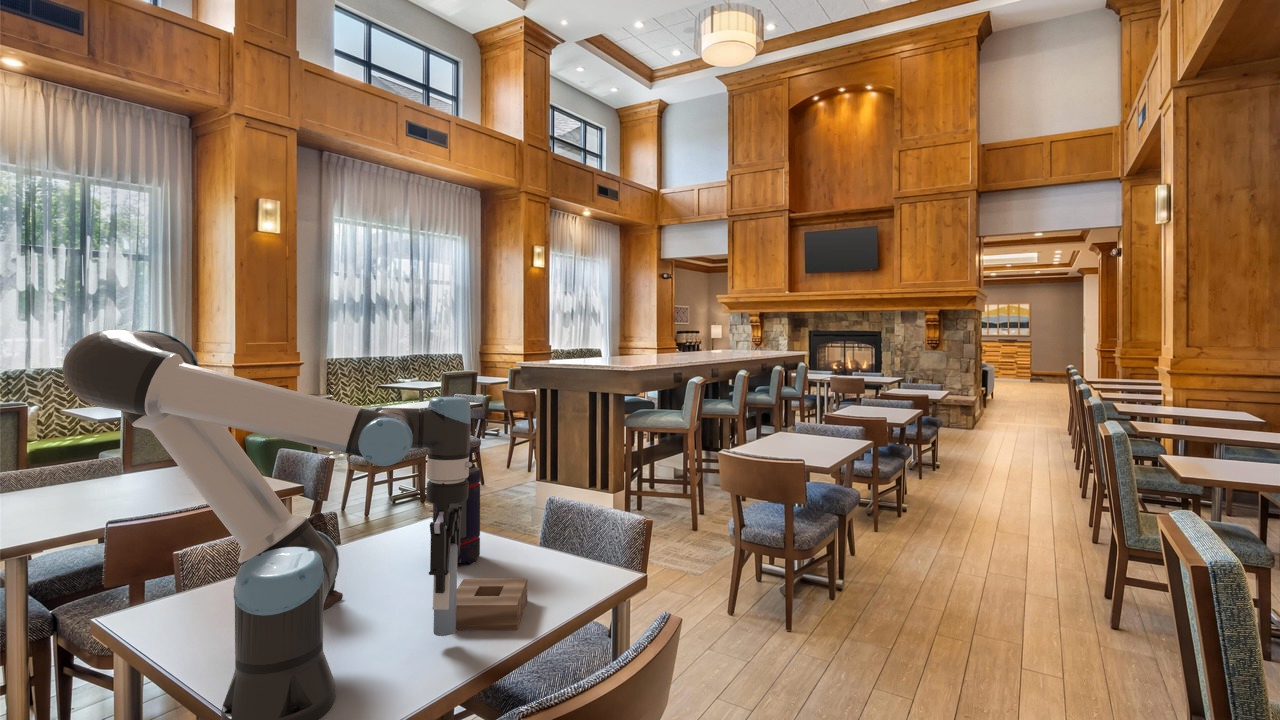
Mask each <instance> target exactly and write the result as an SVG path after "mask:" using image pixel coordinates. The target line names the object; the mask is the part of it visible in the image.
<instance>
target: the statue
mask: <svg viewBox="0 0 1280 720" xmlns="http://www.w3.org/2000/svg"><path fill="white" fill-rule="evenodd" d="M306 519H307V520H308V521H309V523H310V524H311V525H312V527H313V528H314V529H315V530H316V531H319V532H322V533H324V534H325V535H327V536H328V537H329V538H330V532H329V528H328V522H327V520H326V518H325V515H324V513H322V512H314V513H313V514H311V516H309V517H308V518H306ZM335 585H336V579H335V581H334V583H333V584H332V586H331V588H330V590H329V592H328V595H327V597H326V599H325V602H324V605H323V611H324V610H325V609H328V608H330V607H331V606H333V605H334V604H336V603H338V602H339V601H341V600H342V599H343V596H344V595H343V593H342V592H339V591H338V590H336V589H335Z"/></svg>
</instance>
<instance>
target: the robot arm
mask: <svg viewBox="0 0 1280 720" xmlns="http://www.w3.org/2000/svg"><path fill="white" fill-rule="evenodd" d="M61 370H62V376H63V380H64V382H65V384H66V386H67V387H68V389H69V390H70V391H71V392H72V393H73V395H74V396H75V397H77V398H79V399H80V400H82V401H84V402H85V403H87V404H89V405H92V406H95V407H99V408H104V409H108V410H115V411H120V412H121V413H122V415H123V416H124V417H125V418H126V419H127V421H128V423H130V424H131V425H132V426H133V427H135V428H141V429H146V430H149V431H151V432H152V434H153V435H154V436H155V438H156V439H157V440H158V441H159V442H160V445H162V447H163V448H164V450H166V452H167V453H168V454H169V455H170V457H171V459H173V461H174V462H175V464H176V465H177V466H178V467H179V469H180V470H181V471H182V472H183V474H184V476H186V478H187V479H188V480H189V481H190V483H191V484H192V486H193V487H194V488H195V489H196V491H197V492H198V493H199V494H200V496H201V497H202V498H203V500H204V501H205V502H206V503H207V505H208V506H209V507H210V508H211V510H212V512H213V513H214V514H215V515H216V516H217V518H218V519H219V520H220V522H221V523H222V524H223V525H224V527H225V528H226V529H227V531H228V532H229V533H230V534H231V536H232V537H233V538H234V539H235V541H236V542H237V544H238V545H239V546H240V553H239V556H238V560H237V561H238V563H239V564H240V565H241V566H240V568H239V569H237V572H236V576H235V583H234V586H233V599H234V649H235V650H234V657H235V660H234V661H235V662H234V663H235V664H234V665H235V666H234V667H235V668H234V673H233V676H232V678H231V681H230V683H229V686H228V690H227V692H226V695H225V698H224V701H223V704H222V706H221V711H220V715H221V716H220V720H319V719H321V717H323V716H324V715H325V714H327V712H328V711H330V709H331V708H332V707H333V705H334V704H335V700H336V681H335V678H334V675H333V673H332V671H331V668H330V666H329V663H328V660H327V657H326V655H325V652H324V610H323V605H324V602H325V599H326V597H327V595H328V592H329V590H330V588H331V586H332V584H333V583H334V581H335V580H336V578H337V575H338V572H339V567H340V559H339V558H340V556H339V551H338V548H337V546H336V544H335V541H333V539H331V537H330V536H329V537H328V536H327V535H325V534H324V533H322V532H319V531H316V530H315V529H314V528H313V527H312V525H311V524H310V523H309V521H308V520H307V519H308V518H307V517H305V516H304V515H295V514H292V513H291V512H290V511H289V509H288V508H287V507H286V506H285V503H283V502H282V500H281V498H280V497H279V496H278V495H277V494H276V492H275V491H274V490H273V488H272V486H271V485H270V483H268V481H267V480H266V479H265V477H264V476H263V474H262V473H261V471H259V469H258V468H257V467H256V465H255V464H254V463H253V461H252V460H251V458H250V457H249V456H248V455H247V453H246V452H245V450H244V449H243V448H242V447H241V445H240V444H239V443H238V441H237V440H236V439H235V436H233V434H232V433H231V432H230V430H229V429H228V428H233V429H237V430H241V431H246V432H251V433H255V434H260V435H264V436H269V437H272V438H276V439H277V438H278V439H280V440H281V439H282V440H286V441H291V442H296V443H300V444H304V445H309V446H313V447H316V448H317V447H318V448H322V449H327V450H331V451H335V452H336V451H337V452H340V453H344V454H348V455H352V456H355V457H361V458H363V459H364V460H366V461H367V462H369V463H370V464H372V465H375V466H378V467H389V466H393V465H394V464H397V463H399V462H400V461H402V460H403V459H404V458H405V456H407V455H408V453H409V451H410V450H413V449H414V450H415V449H420V450H421V449H427V459H426V460H427V462H426V478H427V479H428V481H427V482H426V500H427V502H428V503H431V504H433V503H434V504H436V505H437V508H436V512H434V517H433V516H432V521H431V522H430V523H429V530H430V531H429V532H430V555H429V556H430V566H429V568H430V569H429V572H428V575H429V576H433V591H432V592H433V595H432V610H434V609H440V610H448V608H449V587H450V573H448V567H449V554H450V543H453V544H457V545H458V556H457V557H459V555H460V533H461V515H462V509H463V507H462V505H458V503H461V502H464V501H466V500H467V499H468V491H469V481H468V480H467V479H466V478H467V477H468V476H469V467H472V463H471V462H469V452H470V447H471V430H472V429H471V425H472V421H471V420H472V418H471V417H472V416H471V402H470V401H469V400H468V399H467V398H465V397H459V396H435V397H431V398H430V400H429V403H428V405H427V407H418V408H417V407H416V408H414V407H412V408H411V407H408V408H407V407H406V408H405V407H402V408H401V407H383V406H378V407H371V408H369V407H368V408H362V407H359V406H356V405H351V404H347V403H344V402H340V401H335V400H332V399H328V398H324V397H320V396H316V395H314V394H308V393H305V392H301V391H296V390H294V389H293V390H292V389H288V388H284V387H282V386H281V387H280V386H277V385H273V384H269V383H268V384H267V383H265V382H261V381H256V380H252V379H249V378H245V377H240V376H237V375H233V374H229V373H225V372H222V371H221V372H220V371H218V370H213V369H210V368H205V367H201V366H199V361H198V358H197V356H196V354H195V352H194V351H193V349H192V348H191V347H190V346H189V345H188V344H187V343H185V342H184V341H183V340H181V339H179V338H178V337H176V336H172V335H170V334H168V333H165V332H162V331H156V330H147V329H146V330H136V331H135V330H124V329H106V330H101V331H97V332H93V333H91V334H88V335H86V336H85V337H82V338H81V339H79V340H78V341H77V342H76V343H73V344H72V346H71V347H70V349H69V350H68V351H67V353H66V354H65V357H64V359H63V363H62V368H61ZM433 521H434V522H433ZM457 564H461V558H457Z"/></svg>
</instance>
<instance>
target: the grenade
mask: <svg viewBox="0 0 1280 720" xmlns="http://www.w3.org/2000/svg"><path fill="white" fill-rule="evenodd" d="M473 450H474V449H473V447H472V446H470V452H469V462H471V463H472V467H469V476H468V477H467V478H466V479H467V480H468V481H469V491H468V499H467V500H466V501H464V502H461V503H458V505H462V507H463V509H462V515H461V533H460V555H459V557H457V558H461V563H468V565H471V564H472V563H473V564H474V562H475V563H476V559H477V558H478V557H480V555H481V537H480V536H481V483H480V482H481V468H480V467H478V466H476V464H475V463H474V462H473V455H474V453H473V452H474V451H473ZM436 508H437V505H436V504H434V503H432V518H433V517H434V512H436ZM432 522H434V521H433V520H432ZM461 563H460V564H461Z"/></svg>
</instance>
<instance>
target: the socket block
mask: <svg viewBox="0 0 1280 720" xmlns="http://www.w3.org/2000/svg"><path fill="white" fill-rule="evenodd" d="M527 602H528V577H523V578H522V577H519V578H518V577H517V578H516V577H513V578H509V577H508V578H507V577H505V578H504V577H501V578H499V577H498V578H482V577H481V578H463V579H462V581H461V582H460V583H459V585H458V586H457V599H456V631H517V630H518V628H519V625H520V622H521V621H522V620H521V619H522V616H523V614H524V611H525V608H526V605H527Z"/></svg>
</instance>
